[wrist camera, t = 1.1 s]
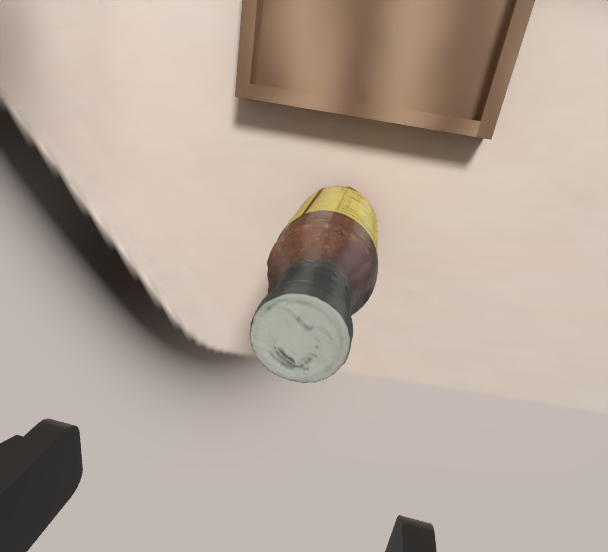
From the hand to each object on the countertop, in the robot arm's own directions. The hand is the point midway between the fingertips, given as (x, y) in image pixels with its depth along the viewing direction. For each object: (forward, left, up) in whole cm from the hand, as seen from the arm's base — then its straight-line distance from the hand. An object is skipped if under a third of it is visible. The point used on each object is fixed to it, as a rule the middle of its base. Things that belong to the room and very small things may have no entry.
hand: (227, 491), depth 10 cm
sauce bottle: (0, 0, -27) cm, 27 cm away
